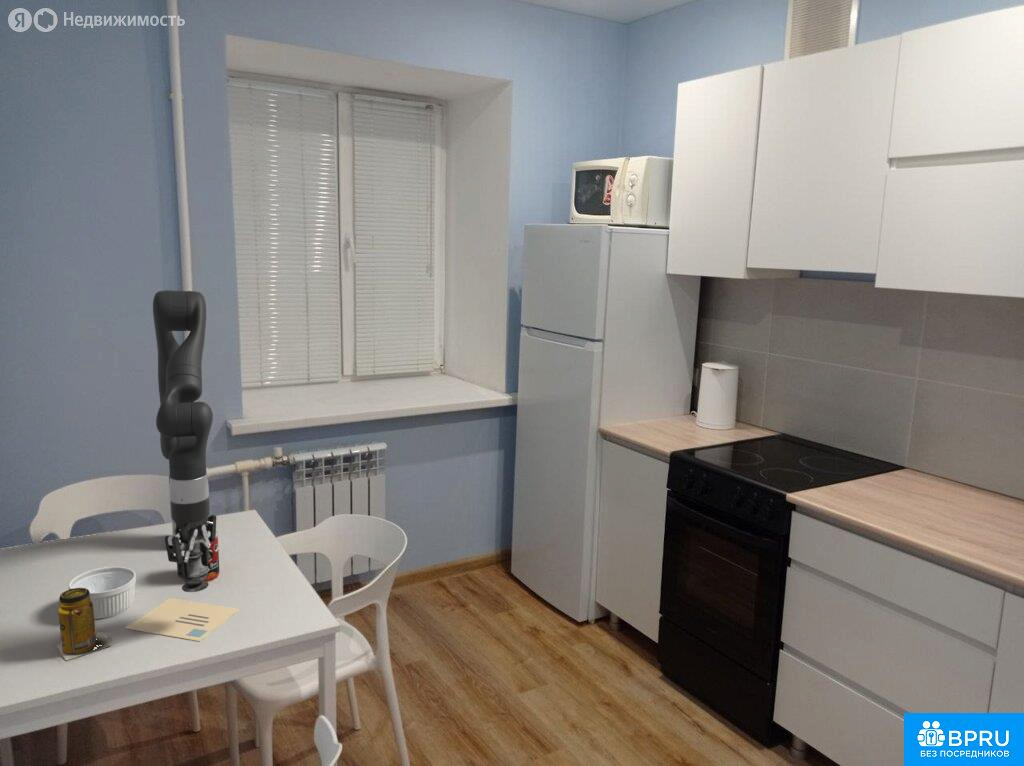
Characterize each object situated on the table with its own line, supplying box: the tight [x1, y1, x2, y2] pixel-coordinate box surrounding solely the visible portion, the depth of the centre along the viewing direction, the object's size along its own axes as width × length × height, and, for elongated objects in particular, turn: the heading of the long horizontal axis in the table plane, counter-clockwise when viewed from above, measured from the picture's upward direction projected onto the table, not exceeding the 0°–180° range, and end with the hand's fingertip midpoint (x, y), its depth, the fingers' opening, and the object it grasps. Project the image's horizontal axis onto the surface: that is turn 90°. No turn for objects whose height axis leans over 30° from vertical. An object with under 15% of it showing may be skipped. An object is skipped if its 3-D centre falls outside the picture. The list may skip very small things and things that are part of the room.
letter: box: [125, 597, 240, 642], centre depth 164 cm, size 14×18×1 cm
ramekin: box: [68, 566, 137, 620], centre depth 168 cm, size 13×13×7 cm
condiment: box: [56, 588, 113, 661], centre depth 152 cm, size 7×8×12 cm
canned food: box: [184, 530, 220, 583], centre depth 184 cm, size 8×8×11 cm
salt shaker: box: [181, 539, 209, 593], centre depth 160 cm, size 6×6×12 cm
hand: (194, 570), depth 160 cm, fingers closed on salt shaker, 6 cm apart
